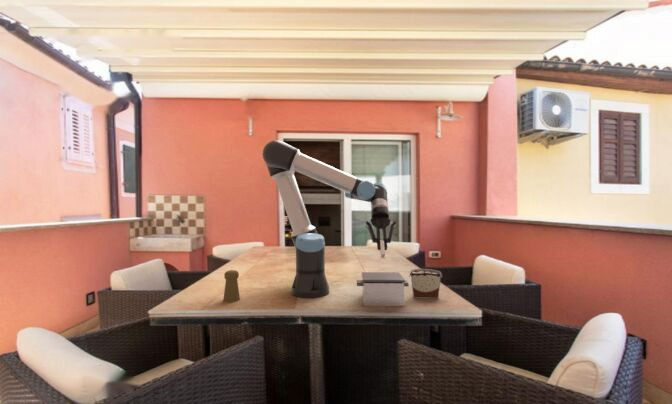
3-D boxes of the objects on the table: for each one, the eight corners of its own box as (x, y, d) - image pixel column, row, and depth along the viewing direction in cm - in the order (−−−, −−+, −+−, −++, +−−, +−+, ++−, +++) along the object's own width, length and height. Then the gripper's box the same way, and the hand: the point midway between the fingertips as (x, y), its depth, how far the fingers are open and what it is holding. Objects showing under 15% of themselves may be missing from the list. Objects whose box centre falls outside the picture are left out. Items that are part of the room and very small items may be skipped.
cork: (243, 299, 121) (242, 270, 121) (228, 303, 116) (228, 273, 116) (234, 296, 125) (234, 268, 125) (220, 299, 120) (220, 270, 120)
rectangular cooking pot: (357, 305, 113) (357, 283, 113) (356, 295, 125) (356, 275, 125) (410, 306, 112) (410, 283, 112) (404, 296, 124) (404, 275, 124)
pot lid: (363, 282, 113) (363, 279, 113) (361, 274, 125) (361, 272, 125) (404, 282, 112) (404, 280, 112) (399, 274, 125) (399, 272, 125)
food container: (438, 293, 127) (438, 268, 127) (442, 298, 121) (442, 272, 121) (407, 293, 128) (407, 268, 128) (409, 297, 122) (409, 271, 122)
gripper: (394, 216, 143) (398, 261, 127) (364, 216, 144) (365, 261, 127) (395, 205, 137) (400, 250, 121) (365, 205, 138) (366, 250, 122)
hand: (382, 256), depth 124 cm, fingers closed
